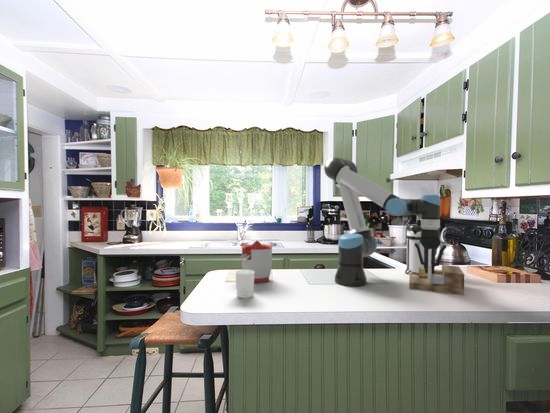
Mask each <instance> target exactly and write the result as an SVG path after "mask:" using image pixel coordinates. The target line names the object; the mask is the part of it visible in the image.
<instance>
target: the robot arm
mask: <svg viewBox="0 0 550 413" xmlns="http://www.w3.org/2000/svg"><path fill="white" fill-rule="evenodd" d="M323 169H324V174H325V176H326V177H327V178H329V179H330V180H332V181H334V183H335V186H336V187H337V188H338V189H339V191H340V192H339V193H340V195H341V199H342V203H343V207H344V211H345V215H346V219H347V223H348V228H349V232H348V233H343V234H341V235H340V236H339V237H338V243H337V245H338V266H337V269H336V273H335V275H334V282H335V283H337V284H338V285H341V286H342V285H343V286H347V287H362V286H365V285H367V280H368V279H367V276H366V273H365V269H364V258H365V257H366V258H367V257H370V256H371V255H373V254H374V253H375V252H376V250H377V247H378V241H377V239H376V238H375V237H374V235H372V232H371V229H370V228H369V227H367V225H366V221H365V216H364V213H363V210H362V204H361V202H360V198H359V195H361V196H363V197H365V198H366V199H368V200H370V201H371V202H373V203H374V204H376V205H378V206H380V207H381V208H383V209H384V210H385V211H386V212H387V213H388V214H389V215H391V216H394V217H400V216H420V220H421V223H420V224H421V227H422V229H421V238H420V240H419V242H417V243H415V244H414V245H415V247H416V248H417V251H418V255H419V259H420V263H421V264H422V265H424V266H425V273H428V281H430V282H431V274H434V269H435V267H438V266H440V264H441V260H442V257H443V255H444V251H445V250H446V249H447V245H446V244H444V243H442V241H441V235H440V234H441V230H440V228H441V206H442V205H441V196H440V195H439V194H422V195H421V197H420V198H401V197H399V196H397V195H395V194H394V193H392V192H390V191H389V190H386V189H385V188H383V187H382V186H380V185H378V184H376V183H375V182H373V181H371V180H369V179H367V178H366V177H364V176H362V175H360V174H358V173H359V171H358V167H357V164H356V163H355V162H353V161H351V160H349V159H344V158H340V157H337V156H335V157H332V158H331V157H330V158H329V159H327V161H326V162H325V164H324V167H323ZM420 244H422V246H423V247H424V248H425V262H423V258H422V254H421V250H420ZM438 247H439V251H438V254H437V255H438V256H437V259H436V260H435V257H436V250H437V248H438ZM428 249H431V266H428Z"/></svg>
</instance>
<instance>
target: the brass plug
mask: <svg viewBox="0 0 550 413" xmlns="http://www.w3.org/2000/svg"><path fill="white" fill-rule="evenodd" d="M434 274H436V275H443V271H442V269H435V268H434ZM418 275H419V277H428V273H425V268H421V267H419V273H418Z"/></svg>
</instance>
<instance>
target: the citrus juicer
mask: <svg viewBox="0 0 550 413" xmlns="http://www.w3.org/2000/svg"><path fill="white" fill-rule="evenodd" d="M240 259H241V270H253V271H254V272H255V273H254V284H259V283H263V282H264V283H265V282H267V281H268V280H269V279H270V276H271V273H272V272H271V271H272V268H273V246H272V245H270V244H262V243H261V242H260V241H259V240H255V241H254V242H253V243H252V244H245V245H242V246H241V256H240Z"/></svg>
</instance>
